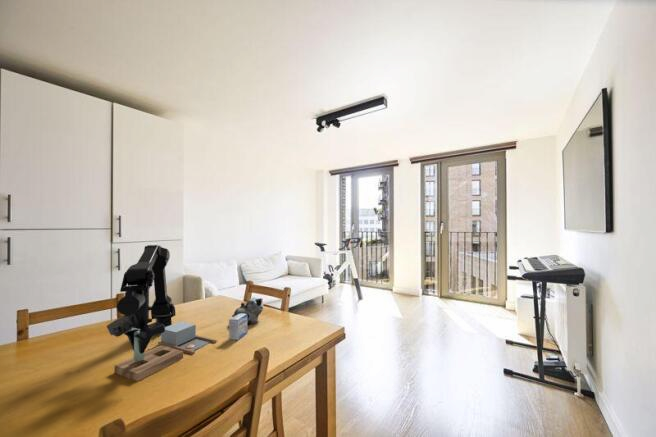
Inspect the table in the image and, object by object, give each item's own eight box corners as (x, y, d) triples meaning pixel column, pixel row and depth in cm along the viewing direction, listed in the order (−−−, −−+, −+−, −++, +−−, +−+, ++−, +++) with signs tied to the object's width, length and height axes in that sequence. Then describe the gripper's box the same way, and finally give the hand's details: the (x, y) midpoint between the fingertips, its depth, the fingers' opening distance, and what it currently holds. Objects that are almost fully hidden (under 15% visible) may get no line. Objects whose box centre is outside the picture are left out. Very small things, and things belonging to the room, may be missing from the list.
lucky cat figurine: (237, 316, 143) (250, 291, 147) (257, 326, 142) (270, 300, 145) (227, 317, 129) (241, 289, 133) (249, 328, 127) (263, 300, 131)
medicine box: (238, 340, 114) (238, 319, 114) (228, 339, 115) (228, 319, 115) (247, 333, 122) (247, 313, 122) (238, 332, 123) (238, 312, 123)
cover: (161, 342, 111) (161, 328, 112) (180, 333, 120) (180, 321, 120) (176, 346, 108) (176, 332, 108) (195, 337, 116) (195, 324, 116)
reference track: (157, 344, 110) (157, 342, 110) (182, 334, 121) (182, 331, 121) (193, 354, 102) (193, 351, 102) (216, 342, 113) (216, 339, 113)
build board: (114, 372, 90) (114, 365, 90) (161, 351, 105) (161, 345, 105) (137, 381, 85) (137, 373, 85) (183, 358, 100) (183, 351, 100)
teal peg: (131, 360, 91) (132, 333, 91) (141, 355, 93) (141, 329, 93) (137, 362, 90) (137, 334, 89) (146, 357, 92) (147, 331, 92)
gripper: (94, 308, 88) (94, 357, 88) (130, 317, 80) (130, 370, 80) (131, 299, 98) (131, 343, 98) (166, 306, 90) (166, 353, 90)
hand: (138, 352), depth 91 cm, fingers closed on teal peg, 3 cm apart
